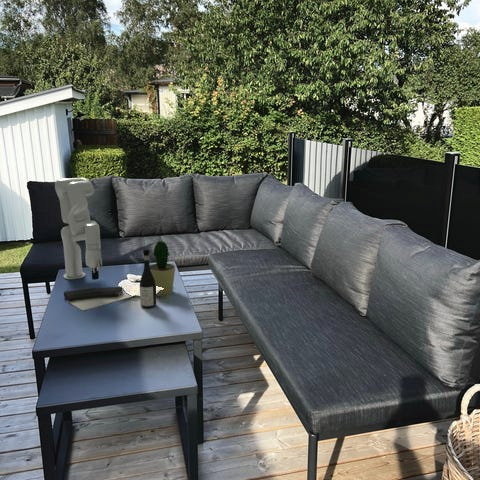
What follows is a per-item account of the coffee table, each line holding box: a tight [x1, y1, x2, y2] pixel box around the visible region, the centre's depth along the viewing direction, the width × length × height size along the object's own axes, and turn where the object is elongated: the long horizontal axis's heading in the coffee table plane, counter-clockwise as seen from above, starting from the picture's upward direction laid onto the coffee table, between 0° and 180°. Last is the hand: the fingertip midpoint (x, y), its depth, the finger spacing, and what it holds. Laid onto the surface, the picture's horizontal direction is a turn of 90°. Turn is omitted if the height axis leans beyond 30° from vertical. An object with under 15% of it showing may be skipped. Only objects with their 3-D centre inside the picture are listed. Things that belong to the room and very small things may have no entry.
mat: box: [66, 289, 133, 312], centre depth 258 cm, size 18×33×1 cm, turn 135°
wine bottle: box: [139, 248, 157, 309], centre depth 244 cm, size 8×8×30 cm
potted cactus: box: [149, 240, 176, 297], centre depth 264 cm, size 15×15×30 cm
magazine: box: [63, 286, 123, 302], centre depth 258 cm, size 17×3×30 cm
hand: (95, 278), depth 261 cm, fingers closed
